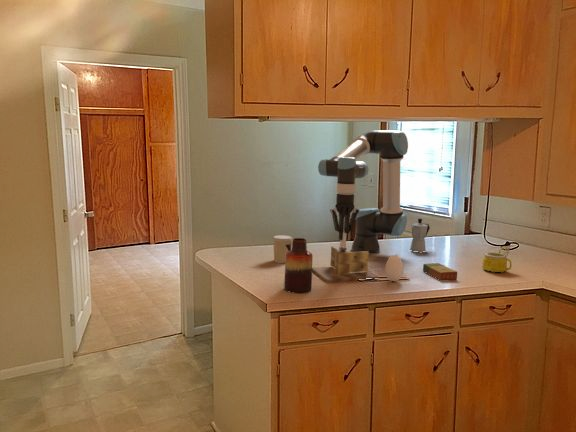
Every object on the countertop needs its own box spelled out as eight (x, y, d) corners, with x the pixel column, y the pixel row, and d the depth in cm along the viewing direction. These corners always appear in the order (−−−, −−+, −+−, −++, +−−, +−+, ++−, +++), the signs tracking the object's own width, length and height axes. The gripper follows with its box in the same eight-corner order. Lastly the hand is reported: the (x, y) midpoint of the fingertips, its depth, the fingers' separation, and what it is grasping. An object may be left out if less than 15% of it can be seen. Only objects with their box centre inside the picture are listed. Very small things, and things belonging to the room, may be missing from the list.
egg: (389, 284, 214) (390, 257, 212) (381, 279, 221) (383, 253, 219) (405, 283, 215) (407, 256, 213) (397, 278, 222) (399, 252, 221)
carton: (439, 281, 221) (440, 272, 221) (422, 272, 237) (422, 263, 236) (457, 280, 223) (457, 271, 223) (438, 271, 239) (439, 262, 238)
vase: (279, 287, 205) (280, 238, 201) (300, 283, 211) (302, 235, 207) (294, 294, 196) (296, 243, 193) (316, 290, 202) (318, 240, 199)
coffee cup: (289, 264, 242) (290, 239, 240) (270, 262, 244) (271, 238, 242) (293, 259, 251) (294, 235, 249) (274, 258, 253) (275, 234, 251)
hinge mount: (358, 267, 240) (359, 244, 238) (378, 279, 221) (380, 254, 219) (310, 270, 233) (311, 246, 231) (327, 282, 213) (328, 256, 212)
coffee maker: (417, 254, 272) (419, 220, 269) (404, 250, 278) (406, 218, 275) (433, 250, 281) (436, 218, 278) (420, 247, 288) (423, 216, 285)
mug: (481, 272, 238) (483, 246, 237) (482, 266, 248) (484, 242, 246) (510, 275, 233) (513, 250, 231) (511, 270, 243) (513, 245, 241)
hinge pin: (343, 270, 226) (344, 246, 224) (346, 272, 223) (347, 248, 221) (337, 270, 225) (338, 247, 223) (339, 272, 222) (341, 248, 220)
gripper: (355, 192, 224) (353, 244, 227) (328, 192, 220) (325, 245, 223) (363, 194, 217) (360, 248, 220) (334, 194, 213) (332, 249, 216)
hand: (342, 247), depth 222 cm, fingers closed
